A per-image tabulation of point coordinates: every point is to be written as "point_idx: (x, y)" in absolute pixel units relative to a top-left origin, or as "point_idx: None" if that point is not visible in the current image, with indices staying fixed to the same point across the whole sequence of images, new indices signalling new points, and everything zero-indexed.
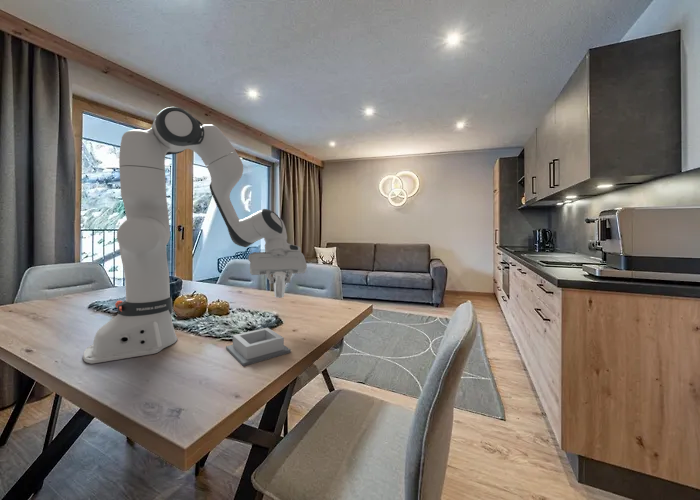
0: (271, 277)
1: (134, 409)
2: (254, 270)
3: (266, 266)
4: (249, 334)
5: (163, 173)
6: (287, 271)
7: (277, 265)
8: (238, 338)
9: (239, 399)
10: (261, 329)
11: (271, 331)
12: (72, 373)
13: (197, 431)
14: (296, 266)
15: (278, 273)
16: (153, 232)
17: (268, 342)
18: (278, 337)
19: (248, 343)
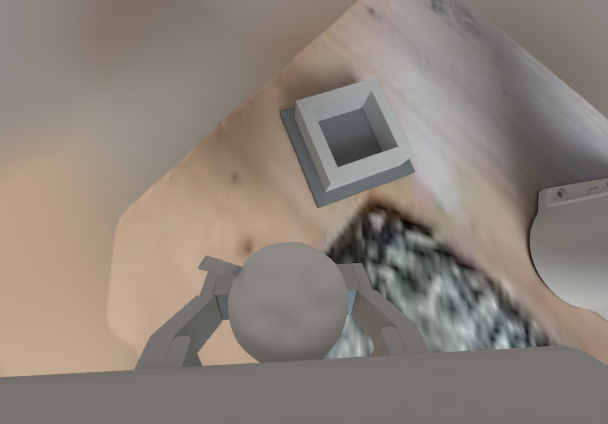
0: (356, 286)
1: (486, 26)
2: (544, 349)
3: (457, 389)
4: (375, 155)
5: None
6: (214, 270)
7: (315, 419)
8: (398, 128)
9: (367, 3)
10: (347, 173)
11: (321, 150)
12: None
13: None
14: (38, 400)
15: (307, 253)
16: None
17: (331, 91)
18: (307, 106)
19: (374, 93)
